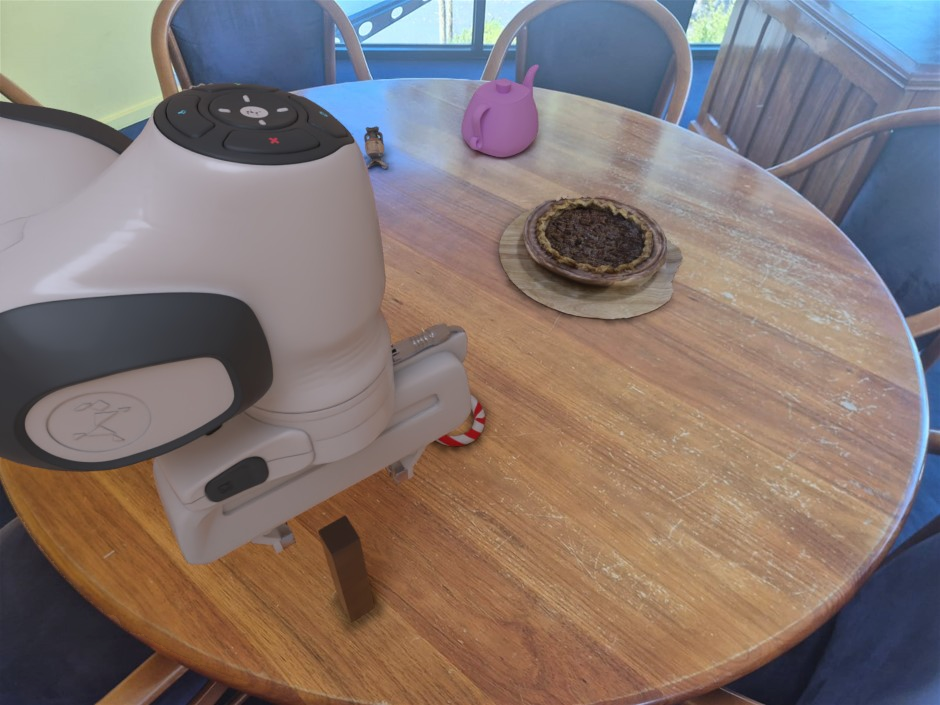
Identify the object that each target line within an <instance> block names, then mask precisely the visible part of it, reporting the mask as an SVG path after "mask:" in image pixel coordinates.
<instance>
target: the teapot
mask: <svg viewBox="0 0 940 705" xmlns="http://www.w3.org/2000/svg"><path fill="white" fill-rule="evenodd" d="M539 67H540V66H539V64H534V65H532V66H531V67H529V68H528V70H527V71H526V74H525V76H524V78H523V81H522V84H521V83H518V82H515V81H512V80H511V79H508V78H497V79H493V80H490V81H488V82H485V83H482V85H480V86H479V87H478V88H477V89H476V90H475V91H474V93H473V94H472V96H471V98H470V100H469V102H468V104H467V106H466V108H465V111H464V114H463V117H462V122H461V130H460V131H461V135H462V138H463V139H464V141H465V142H466V144H467V145H468V146H469V147H470V148H471V150H473V151H478V152H480V153H482V154H486V155H489V156H492V157H497V158H506V157H511V156H514V155H517V154H519V153H521V152H523V151H525V150H526V149H527V148H528V147H529V146H530V145H531V144H532V143H533V142H534V140H535V139H536V137H537V135H538V133H539V126H540V124H539V122H540V121H539V112H538V108H537V105H536V101H535V98H534V80H535V76H536V73H537V71H538V70H539Z"/></svg>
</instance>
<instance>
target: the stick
mask: <svg viewBox="0 0 940 705" xmlns="http://www.w3.org/2000/svg"><path fill="white" fill-rule="evenodd" d="M317 533H318V536H319V539H320V544H321V546H322V549H323V552H324V556H325V559H326V563H327V565H328V569H329V572H330V575H331V578H332V581H333V585H334V588H335V591H336V595H337V598H338V601H339V603H340V605H341V607H342V609H343V610H344V612H345V614H346V616H347V617H348V620H349V621H350V622H351V623H353V622H355V621H357V620H358V619H359V618H360V617H362V616H364V615H365V614H367V613H369V612H370V611H372V610H373V609H374V608H375V604H374V599H373V595H372V590H371V586H370V585H371V584H370V580H369V575H368V571H367V565H366V561H365V555H364V551H363V546H362V541H361V537H360V536H359V534H358V532H357V531H356V529H355V527H354V526H353V524H352V523H351V521H350V520H349V518H348V516H347V515H346V514H345V515H343V516H341V517H339V518H338V519H336V520H333V521H332V522H330V523H329V524H327V525H325V526H323V527H321V528H320V529H318V530H317Z"/></svg>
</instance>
